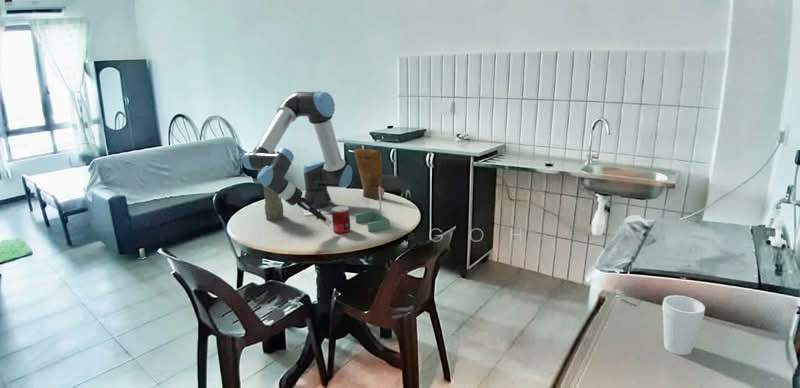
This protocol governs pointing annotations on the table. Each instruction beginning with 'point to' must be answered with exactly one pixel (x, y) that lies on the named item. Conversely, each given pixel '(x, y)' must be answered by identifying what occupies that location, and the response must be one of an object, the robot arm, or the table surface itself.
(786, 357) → the table surface
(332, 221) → the robot arm
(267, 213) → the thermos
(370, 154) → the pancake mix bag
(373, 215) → the green c-shaped bracket
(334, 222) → the canned food
